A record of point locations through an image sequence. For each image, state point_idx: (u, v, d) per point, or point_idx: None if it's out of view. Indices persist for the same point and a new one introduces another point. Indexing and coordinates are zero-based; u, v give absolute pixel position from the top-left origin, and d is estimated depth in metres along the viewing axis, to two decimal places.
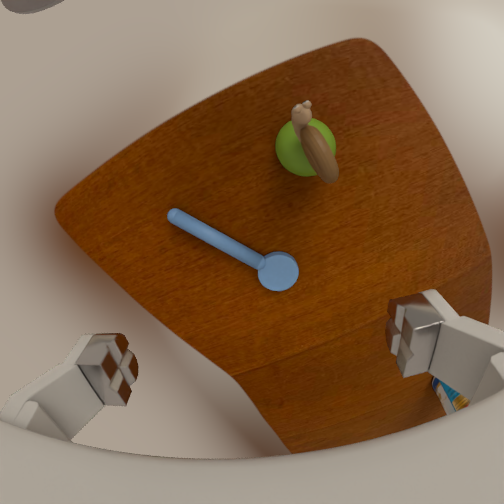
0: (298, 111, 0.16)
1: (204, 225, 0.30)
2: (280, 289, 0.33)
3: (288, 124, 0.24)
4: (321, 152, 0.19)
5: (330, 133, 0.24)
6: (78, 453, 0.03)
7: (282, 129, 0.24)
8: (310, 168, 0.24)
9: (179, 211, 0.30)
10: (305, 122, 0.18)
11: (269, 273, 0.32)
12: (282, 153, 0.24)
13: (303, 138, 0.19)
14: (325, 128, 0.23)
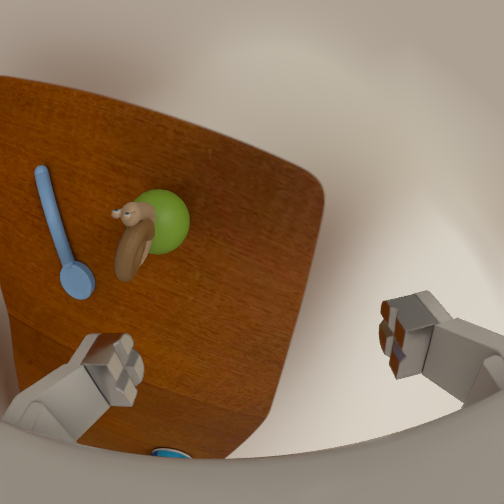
0: (113, 216, 0.15)
1: (52, 200, 0.25)
2: (69, 293, 0.29)
3: (156, 194, 0.23)
4: (121, 256, 0.17)
5: (180, 233, 0.23)
6: (78, 453, 0.03)
7: (149, 192, 0.23)
8: None
9: (45, 172, 0.24)
10: (125, 224, 0.16)
11: (69, 275, 0.29)
12: None
13: (126, 229, 0.18)
14: (179, 226, 0.23)
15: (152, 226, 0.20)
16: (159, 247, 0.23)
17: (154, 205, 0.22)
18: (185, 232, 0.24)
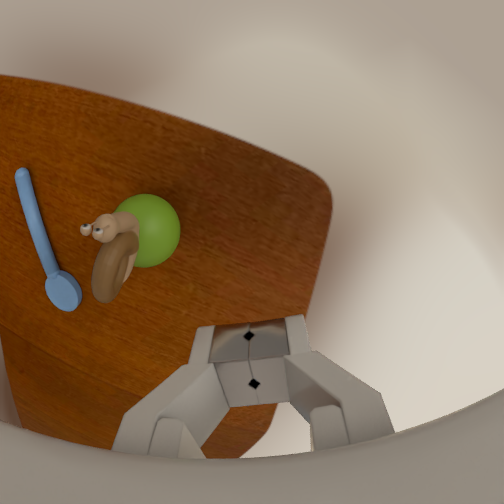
0: (82, 233, 0.12)
1: (33, 205, 0.22)
2: (56, 304, 0.27)
3: (141, 199, 0.20)
4: (97, 276, 0.14)
5: (169, 244, 0.20)
6: (78, 453, 0.03)
7: (134, 198, 0.20)
8: None
9: (25, 175, 0.21)
10: (99, 240, 0.13)
11: (54, 286, 0.26)
12: None
13: (103, 243, 0.15)
14: (168, 236, 0.20)
15: (134, 239, 0.17)
16: (145, 260, 0.20)
17: (138, 213, 0.19)
18: (175, 243, 0.21)
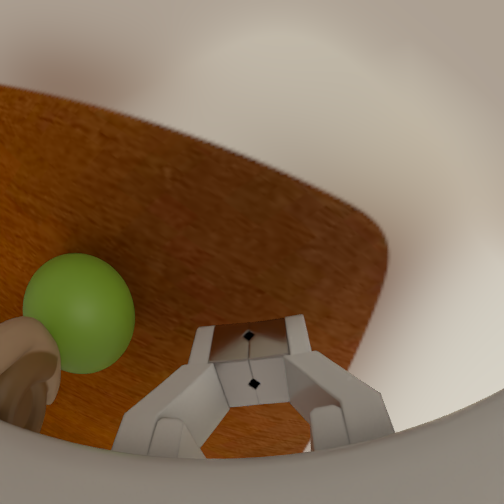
0: None
1: None
2: None
3: (60, 271, 0.10)
4: None
5: (113, 348, 0.11)
6: (78, 453, 0.03)
7: (51, 266, 0.10)
8: None
9: None
10: None
11: None
12: (23, 303, 0.10)
13: None
14: (108, 338, 0.10)
15: (37, 367, 0.07)
16: (78, 371, 0.10)
17: (53, 300, 0.09)
18: (124, 341, 0.11)
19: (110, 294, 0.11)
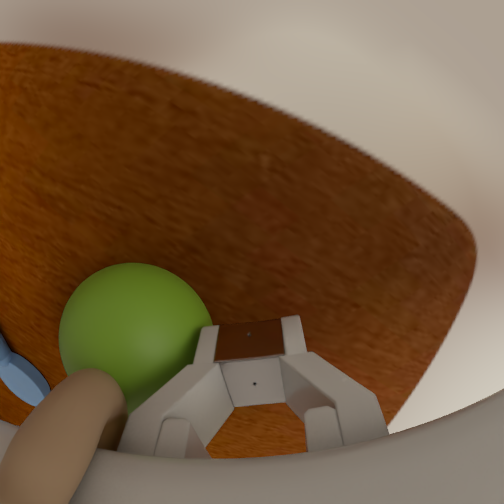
0: None
1: None
2: (17, 395, 0.14)
3: (123, 291, 0.08)
4: None
5: None
6: None
7: (104, 283, 0.08)
8: None
9: None
10: None
11: (8, 374, 0.13)
12: (60, 333, 0.07)
13: None
14: None
15: (115, 446, 0.05)
16: None
17: (117, 335, 0.07)
18: None
19: (196, 321, 0.08)
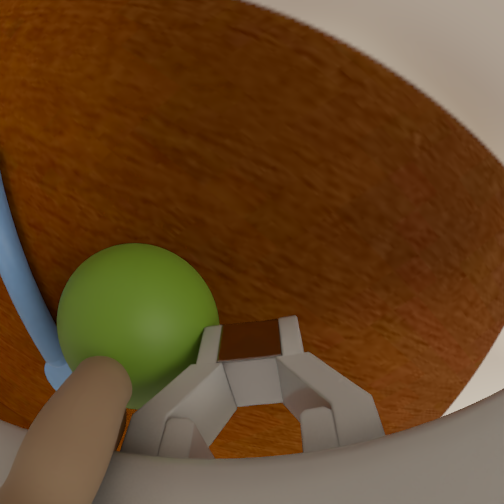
0: None
1: (6, 230, 0.10)
2: None
3: (144, 277, 0.07)
4: None
5: None
6: None
7: (124, 263, 0.07)
8: None
9: None
10: None
11: (62, 376, 0.13)
12: (62, 303, 0.07)
13: None
14: None
15: (118, 440, 0.04)
16: (133, 408, 0.08)
17: (131, 322, 0.07)
18: None
19: (209, 321, 0.08)
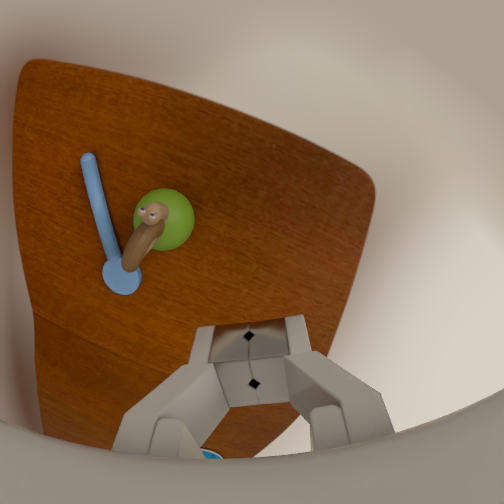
0: (138, 214, 0.16)
1: (100, 189, 0.26)
2: (112, 288, 0.30)
3: (170, 194, 0.24)
4: (132, 250, 0.18)
5: (184, 236, 0.25)
6: (78, 453, 0.03)
7: (163, 191, 0.24)
8: None
9: (93, 160, 0.25)
10: (144, 222, 0.17)
11: (113, 269, 0.29)
12: (140, 205, 0.23)
13: (140, 224, 0.19)
14: (185, 229, 0.24)
15: (163, 226, 0.21)
16: (161, 244, 0.24)
17: (166, 205, 0.23)
18: (188, 235, 0.25)
19: (190, 210, 0.25)
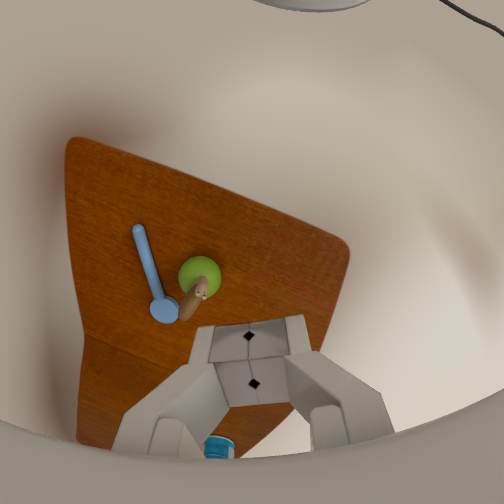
0: (196, 295, 0.28)
1: (149, 252, 0.38)
2: (157, 319, 0.43)
3: (205, 263, 0.36)
4: (187, 309, 0.31)
5: (215, 290, 0.37)
6: (78, 453, 0.03)
7: (200, 260, 0.36)
8: (185, 291, 0.36)
9: (143, 231, 0.37)
10: None
11: (159, 306, 0.42)
12: (184, 270, 0.36)
13: (191, 292, 0.31)
14: (216, 286, 0.36)
15: None
16: None
17: (203, 272, 0.35)
18: (217, 289, 0.38)
19: (219, 273, 0.37)
